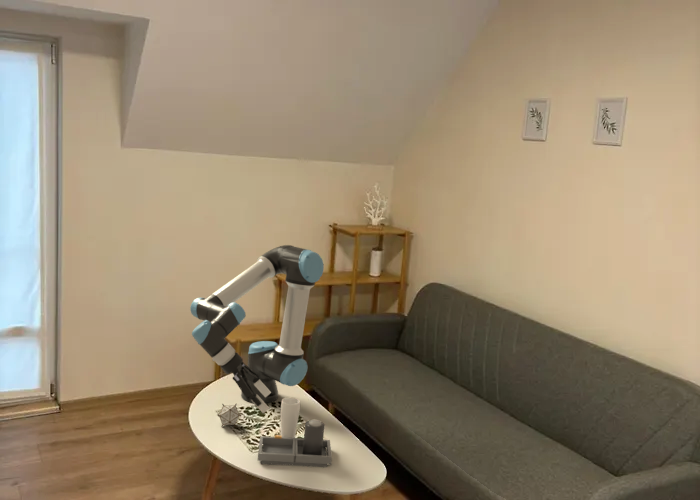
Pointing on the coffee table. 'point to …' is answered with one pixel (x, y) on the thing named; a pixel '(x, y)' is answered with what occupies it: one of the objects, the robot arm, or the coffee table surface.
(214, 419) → the coffee table surface
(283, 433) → the drinking glass
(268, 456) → the divided desk organizer
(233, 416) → the game die
